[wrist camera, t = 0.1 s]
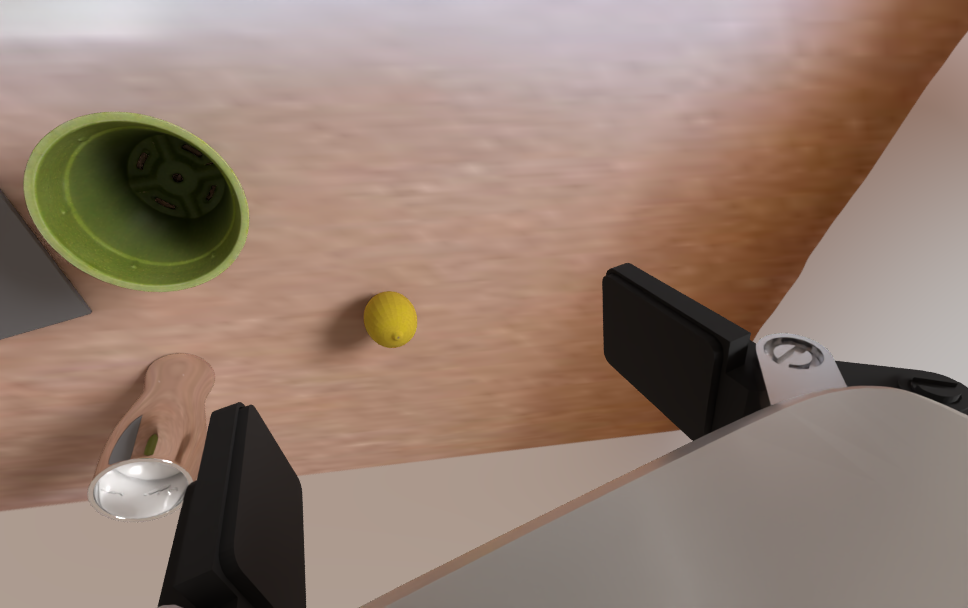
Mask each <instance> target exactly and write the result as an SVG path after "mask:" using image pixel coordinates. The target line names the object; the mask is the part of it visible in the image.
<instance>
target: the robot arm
mask: <svg viewBox="0 0 968 608" xmlns="http://www.w3.org/2000/svg"><path fill="white" fill-rule="evenodd" d="M602 289H603V336H604V355H605V358H606V360H607V361H608V363H609V364H610V365H611V366H612V367H613V368H615V369H616V370H617V371H618V372H619V373H620V374H621V375H622V376H623V377H624V378H625V379H626V380H628V381H629V382H630V383H631V384H632V385H633V386H634V387H635V388H636V389H637V390H638V391H639V392H640V393H642V394H643V395H644V396H645V397H646V398H647V399H648V400H649V401H650V402H651V403H652V404H653V405H655V406H656V407H657V408H658V409H659V410H660V411H661V412H662V413H663V414H664V415H665V416H666V417H668V418H669V419H670V420H671V421H672V422H673V423H674V424H675V425H676V426H677V427H678V428H679V429H680V430H682V431H683V432H684V433H685V434H686V435H687V436H688V437H689V438H690V439H691V440H693V441H692V442H690V443H688V444H686V445H684V446H682V447H680V448H678V449H676V450H674V451H672V452H670V453H668V454H666V455H664V456H662V457H660V458H657V459H656V460H654V461H651V462H650V463H647V464H645V465H643V466H641V467H639V468H637V469H635V470H633V471H631V472H629V473H627V474H625V475H623V476H621V477H619V478H616V479H615V480H612V481H611V482H608V483H606V484H604V485H602V486H600V487H598V488H596V489H594V490H592V491H590V492H588V493H586V494H584V495H582V496H580V497H578V498H576V499H574V500H572V501H570V502H568V503H566V504H564V505H562V506H560V507H558V508H556V509H554V510H552V511H550V512H548V513H546V514H544V515H542V516H540V517H538V518H536V519H533V520H531V521H530V522H527V523H526V524H523V525H521V526H519V527H517V528H515V529H513V530H511V531H509V532H507V533H505V534H503V535H501V536H499V537H497V538H495V539H493V540H491V541H489V542H487V543H485V544H483V545H481V546H479V547H477V548H475V549H473V550H471V551H469V552H467V553H465V554H463V555H461V556H459V557H457V558H455V559H453V560H451V561H449V562H447V563H445V564H443V565H442V566H439V567H437V568H435V569H434V570H431V571H429V572H427V573H426V574H423V575H421V576H419V577H417V578H415V579H414V580H411V581H409V582H407V583H405V584H403V585H402V586H399V587H397V588H395V589H394V590H392V591H390V592H388V593H386V594H384V595H382V596H380V597H378V598H376V599H375V600H372V601H370V602H369V603H367V604H365V605H363V606H361V607H359V608H968V388H967V387H966V386H964V385H963V384H962V383H959V382H957V381H955V380H953V379H951V378H949V377H946V376H944V375H940V374H936V373H932V372H926V371H921V370H913V369H904V368H895V367H886V366H877V365H868V364H859V363H850V362H841V361H835V360H834V358H833V356H832V354H831V353H830V352H829V351H828V349H827V348H826V347H824V346H823V345H821V344H820V343H819V342H816V341H814V340H812V339H810V338H807V337H804V336H800V335H796V334H788V333H778V334H771V335H766V336H765V337H763V338H761V339H759V341H758V342H757V344H756V343H754V342H752V341H751V340H750V335H751V333H750V332H748V331H746V330H745V329H743V328H741V327H740V326H738V325H736V324H734V323H733V322H731V321H729V320H727V319H726V318H724V317H722V316H720V315H719V314H717V313H715V312H714V311H712V310H710V309H708V308H707V307H705V306H703V305H701V304H700V303H698V302H696V301H694V300H693V299H691V298H689V297H687V296H686V295H684V294H682V293H681V292H679V291H677V290H675V289H674V288H672V287H670V286H668V285H667V284H665V283H663V282H661V281H660V280H658V279H656V278H655V277H653V276H651V275H649V274H648V273H646V272H644V271H642V270H641V269H639V268H637V267H635V266H634V265H632V264H630V263H625V264H622V265H619V266H617V267H614V268H611V269H609V270H608V271H607V273H606V276H605V277H603V281H602ZM305 590H306V588H305V560H304V531H303V502H302V488H301V484H300V481H299V479H298V477H297V475H296V473H295V472H294V470H293V469H292V467H291V465H290V464H289V462H288V460H287V459H286V457H285V455H284V454H283V452H282V451H281V449H280V447H279V446H278V444H277V442H276V441H275V439H274V438H273V436H272V434H271V433H270V431H269V429H268V428H267V426H266V424H265V423H264V421H263V420H262V418H261V416H260V415H259V413H258V411H257V410H256V408H255V407H254V406H253V405H249V406H246V407H245V405H244V404H242V403H241V402H238V403H236V404H233V405H230V406H227V407H224V408H222V409H219V410H216V411H214V412H212V414H211V417H210V422H209V426H208V431H207V436H206V440H205V445H204V449H203V454H202V458H201V463H200V467H199V472H198V477H197V480H196V481H194V482H191V483H190V484H189V485H188V487H187V489H186V492H185V495H184V499H183V503H182V508H181V512H180V516H179V520H178V524H177V529H176V532H175V537H174V541H173V545H172V549H171V554H170V557H169V562H168V566H167V570H166V574H165V578H164V582H163V587H162V591H161V595H160V599H159V603H158V607H157V608H306V591H305Z"/></svg>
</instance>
